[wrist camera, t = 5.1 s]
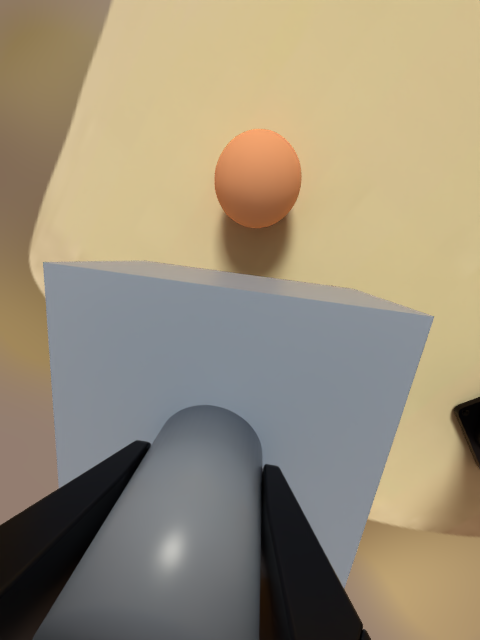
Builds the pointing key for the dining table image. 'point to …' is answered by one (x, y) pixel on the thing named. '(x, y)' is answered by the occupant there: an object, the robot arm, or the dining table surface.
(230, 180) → the ball
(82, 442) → the block with rounded knob
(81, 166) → the dining table surface
